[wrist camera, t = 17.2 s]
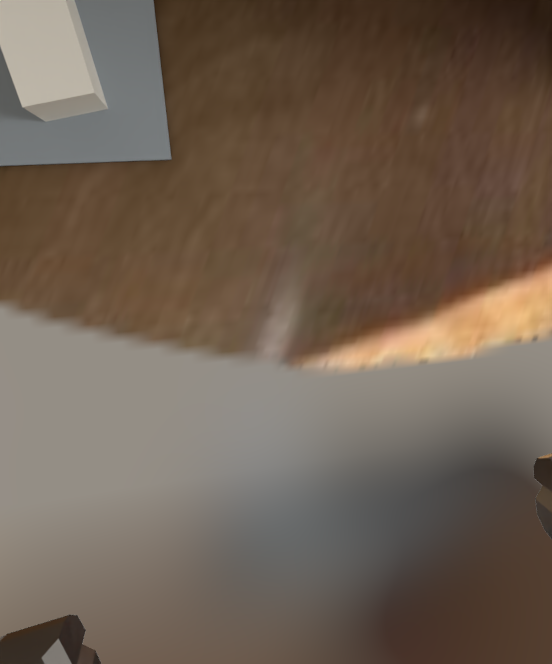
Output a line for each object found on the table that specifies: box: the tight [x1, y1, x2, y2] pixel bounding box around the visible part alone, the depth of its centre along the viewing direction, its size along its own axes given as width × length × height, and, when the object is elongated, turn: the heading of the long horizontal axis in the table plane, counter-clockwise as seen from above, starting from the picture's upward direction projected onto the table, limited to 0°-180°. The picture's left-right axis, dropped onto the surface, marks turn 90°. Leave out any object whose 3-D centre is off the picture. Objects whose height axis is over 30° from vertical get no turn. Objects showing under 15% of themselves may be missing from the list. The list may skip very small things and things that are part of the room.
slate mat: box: [0, 0, 171, 166], centre depth 31 cm, size 14×14×1 cm
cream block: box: [0, 0, 108, 122], centre depth 28 cm, size 4×4×8 cm
